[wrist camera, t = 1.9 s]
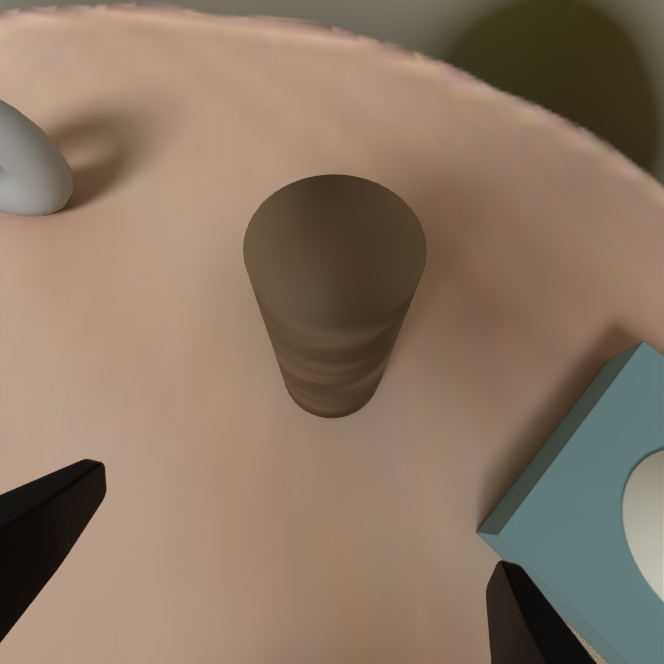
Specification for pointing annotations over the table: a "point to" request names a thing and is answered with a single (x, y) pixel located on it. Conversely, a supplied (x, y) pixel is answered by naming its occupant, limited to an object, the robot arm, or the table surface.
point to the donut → (30, 167)
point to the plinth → (598, 512)
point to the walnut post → (333, 285)
